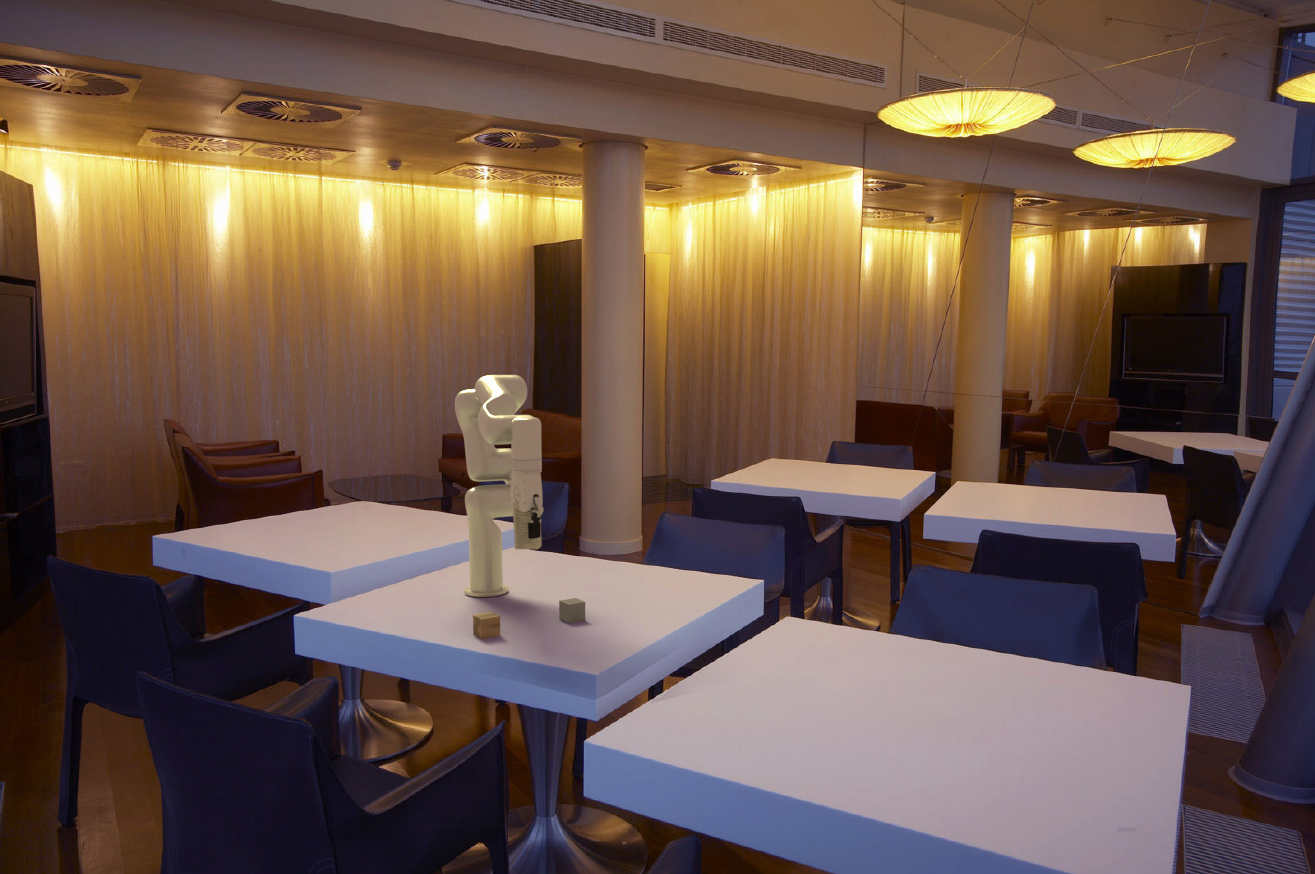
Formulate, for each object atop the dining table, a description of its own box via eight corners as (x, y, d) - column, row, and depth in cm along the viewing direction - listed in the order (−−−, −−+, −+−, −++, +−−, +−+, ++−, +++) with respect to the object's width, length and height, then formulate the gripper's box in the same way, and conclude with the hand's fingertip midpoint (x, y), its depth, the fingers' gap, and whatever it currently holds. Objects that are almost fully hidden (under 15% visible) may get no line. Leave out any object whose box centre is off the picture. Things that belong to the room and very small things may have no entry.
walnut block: (473, 634, 223) (472, 614, 223) (492, 631, 226) (491, 611, 226) (481, 639, 219) (480, 619, 219) (500, 635, 222) (499, 616, 222)
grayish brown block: (559, 619, 237) (559, 600, 236) (576, 616, 240) (575, 597, 239) (568, 623, 233) (568, 604, 232) (585, 620, 235) (585, 601, 235)
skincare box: (542, 546, 231) (541, 499, 230) (538, 549, 226) (537, 501, 225) (517, 546, 231) (516, 498, 230) (513, 549, 227) (512, 501, 226)
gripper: (498, 463, 232) (499, 531, 234) (528, 470, 218) (529, 542, 219) (525, 462, 237) (526, 528, 238) (555, 468, 222) (556, 539, 224)
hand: (527, 535), depth 229 cm, fingers closed on skincare box, 7 cm apart
